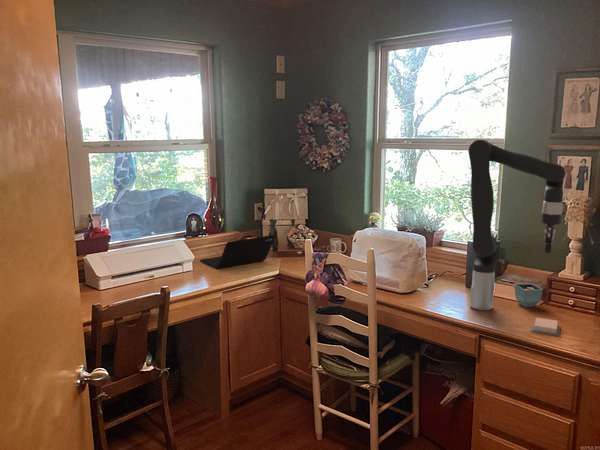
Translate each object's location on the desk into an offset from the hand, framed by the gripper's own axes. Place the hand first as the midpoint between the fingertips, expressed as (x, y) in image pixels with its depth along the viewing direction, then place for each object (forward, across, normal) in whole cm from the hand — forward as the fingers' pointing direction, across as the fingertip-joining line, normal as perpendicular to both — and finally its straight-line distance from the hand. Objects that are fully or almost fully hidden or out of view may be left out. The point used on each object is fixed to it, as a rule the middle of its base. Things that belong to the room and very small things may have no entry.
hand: (547, 252), depth 215 cm
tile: (+26, +13, +3) cm, 29 cm away
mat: (+28, +18, +3) cm, 33 cm away
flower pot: (+28, -9, -7) cm, 30 cm away
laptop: (+30, -7, -169) cm, 171 cm away
